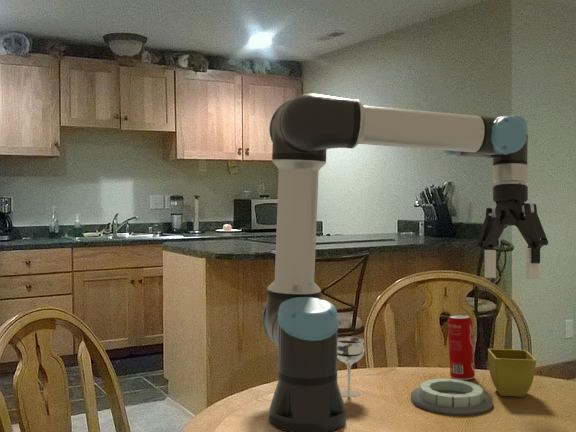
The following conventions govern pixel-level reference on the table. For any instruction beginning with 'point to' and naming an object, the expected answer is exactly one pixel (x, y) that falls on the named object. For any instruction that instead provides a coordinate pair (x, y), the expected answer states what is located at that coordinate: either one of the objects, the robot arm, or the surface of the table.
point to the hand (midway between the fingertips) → (510, 278)
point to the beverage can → (461, 347)
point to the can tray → (451, 409)
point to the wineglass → (349, 357)
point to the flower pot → (511, 371)
